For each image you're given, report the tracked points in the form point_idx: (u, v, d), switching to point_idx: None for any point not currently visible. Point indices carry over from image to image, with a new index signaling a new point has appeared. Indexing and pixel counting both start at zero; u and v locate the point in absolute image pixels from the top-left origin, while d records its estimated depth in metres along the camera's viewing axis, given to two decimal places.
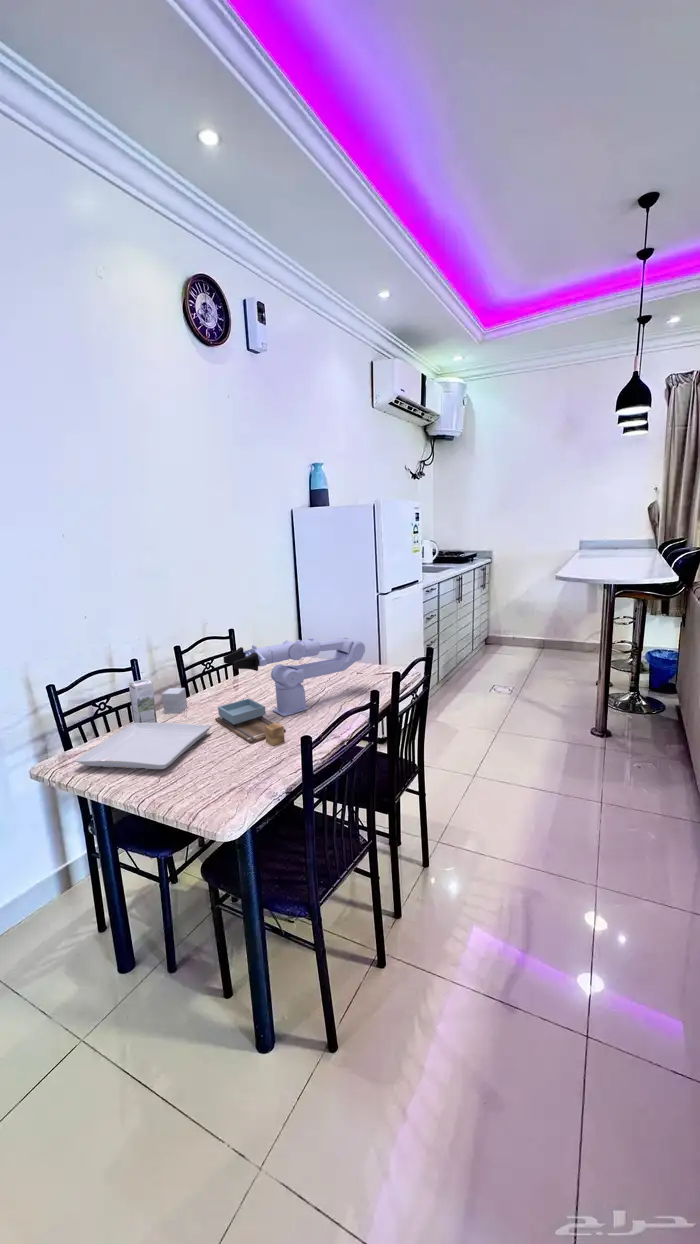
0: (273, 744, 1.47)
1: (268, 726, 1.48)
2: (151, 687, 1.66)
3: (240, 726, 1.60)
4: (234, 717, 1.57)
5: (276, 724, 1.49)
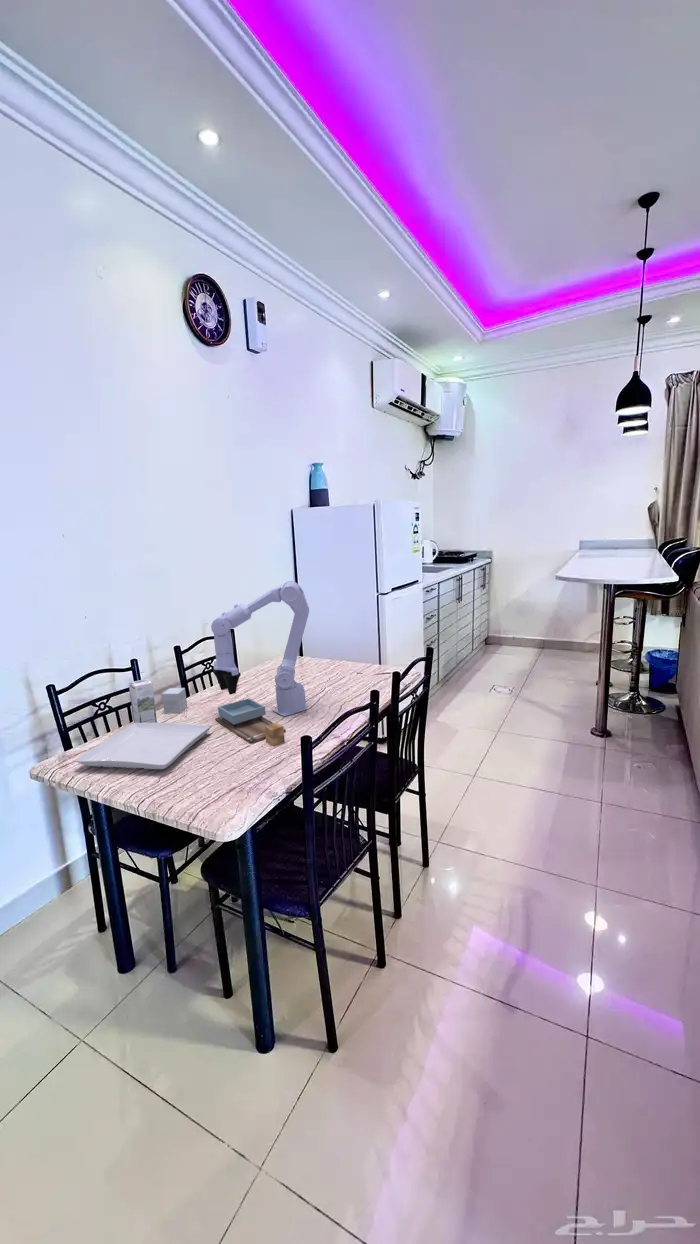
0: (273, 744, 1.47)
1: (268, 726, 1.48)
2: (151, 687, 1.66)
3: (240, 726, 1.60)
4: (234, 717, 1.57)
5: (276, 724, 1.50)
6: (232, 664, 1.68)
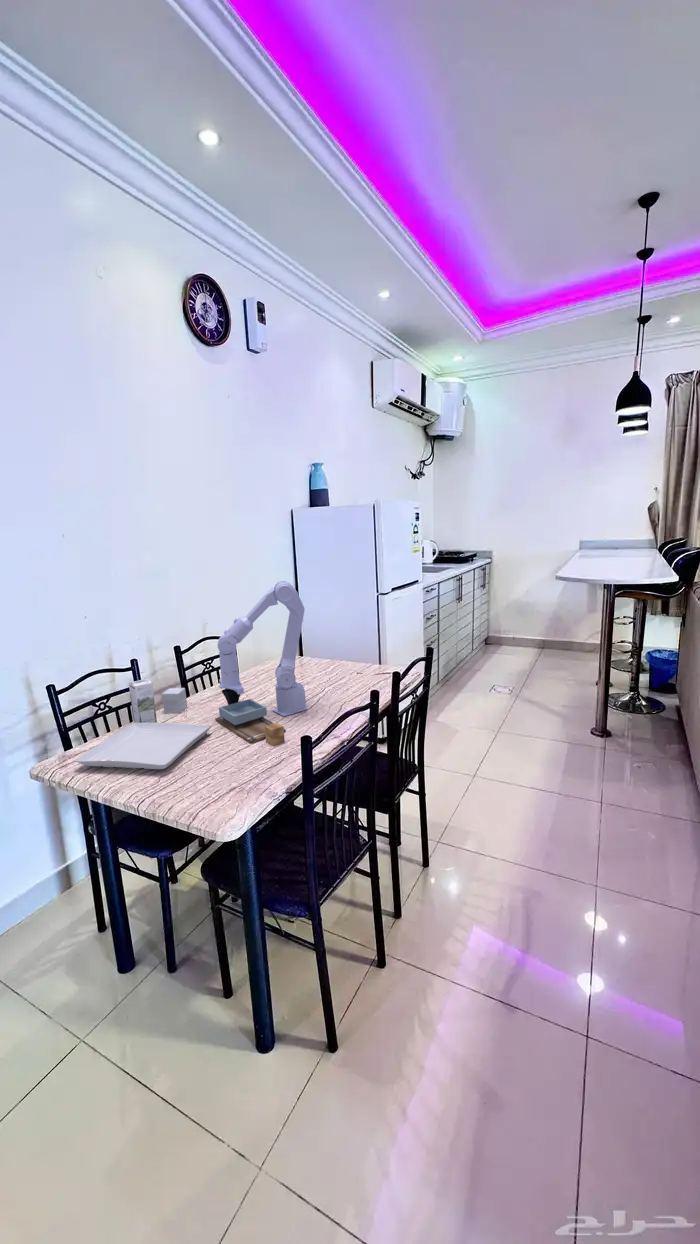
0: (273, 744, 1.47)
1: (268, 726, 1.48)
2: (151, 687, 1.66)
3: (240, 726, 1.60)
4: (235, 718, 1.57)
5: (276, 724, 1.49)
6: (237, 682, 1.67)
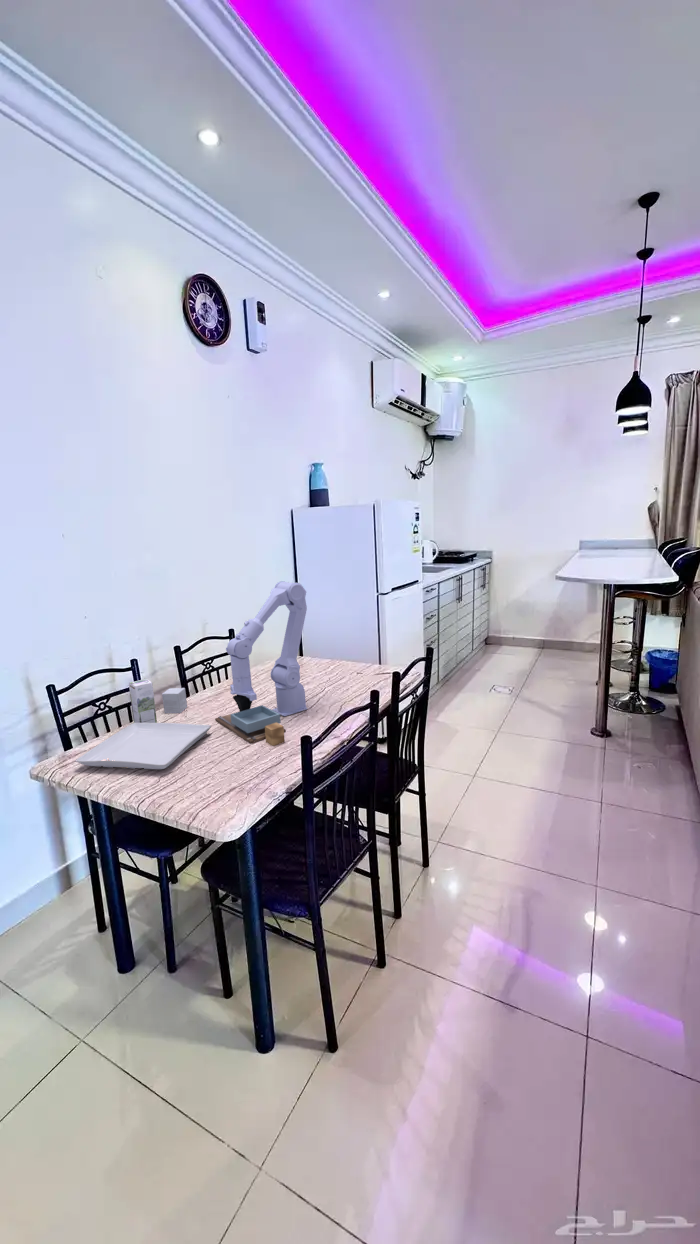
0: (273, 744, 1.47)
1: (268, 726, 1.48)
2: (151, 687, 1.66)
3: None
4: (248, 726, 1.50)
5: (276, 724, 1.50)
6: (250, 688, 1.60)
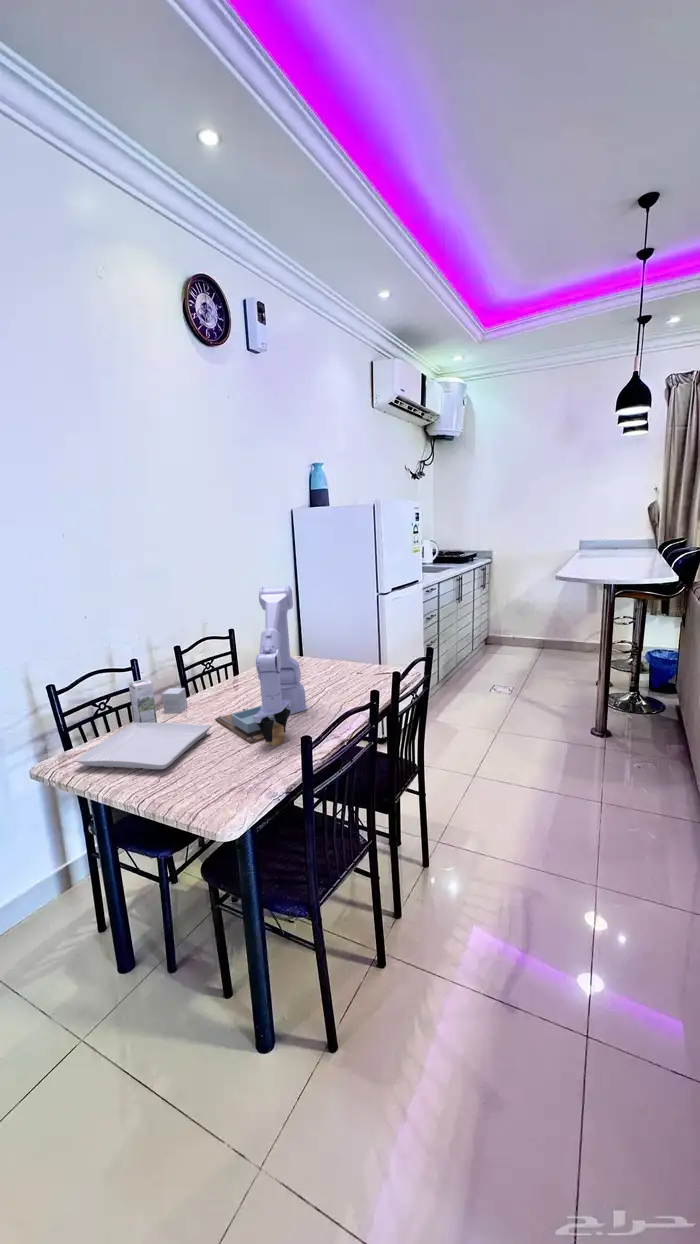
0: (273, 744, 1.47)
1: None
2: (151, 687, 1.66)
3: None
4: (248, 726, 1.50)
5: (276, 724, 1.49)
6: (270, 709, 1.44)
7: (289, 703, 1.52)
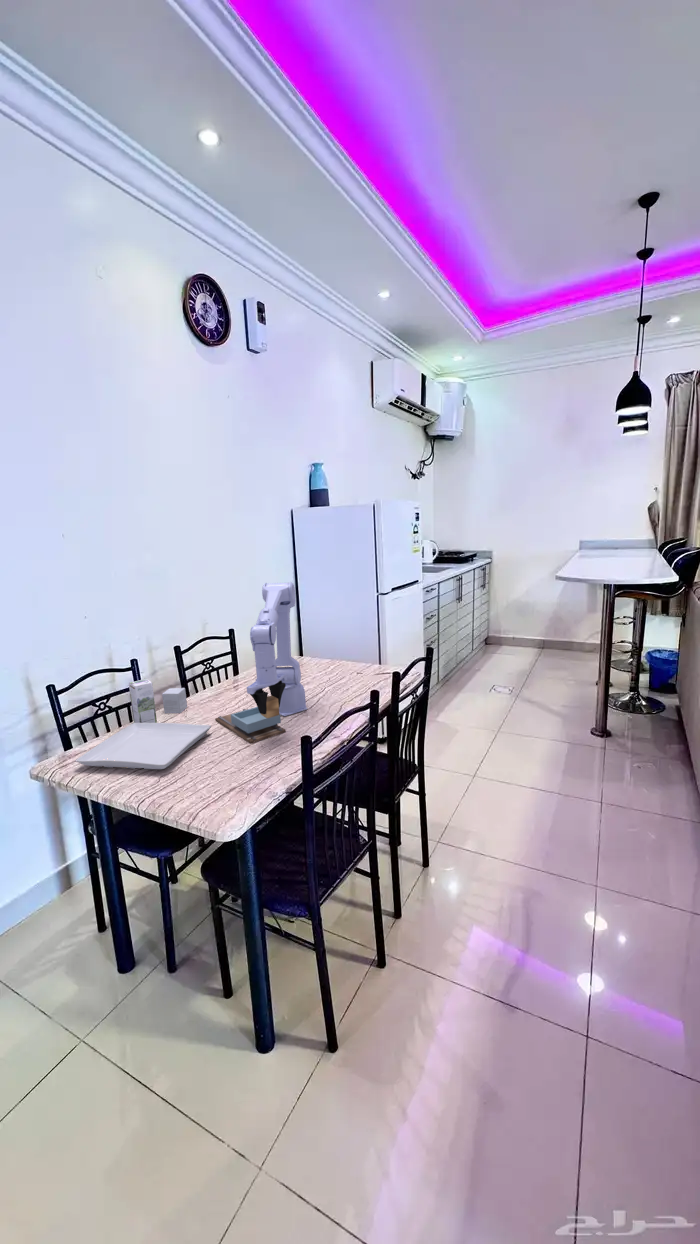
0: (267, 716, 1.47)
1: None
2: (151, 687, 1.66)
3: None
4: (248, 726, 1.50)
5: (271, 697, 1.49)
6: (264, 681, 1.44)
7: (284, 676, 1.52)
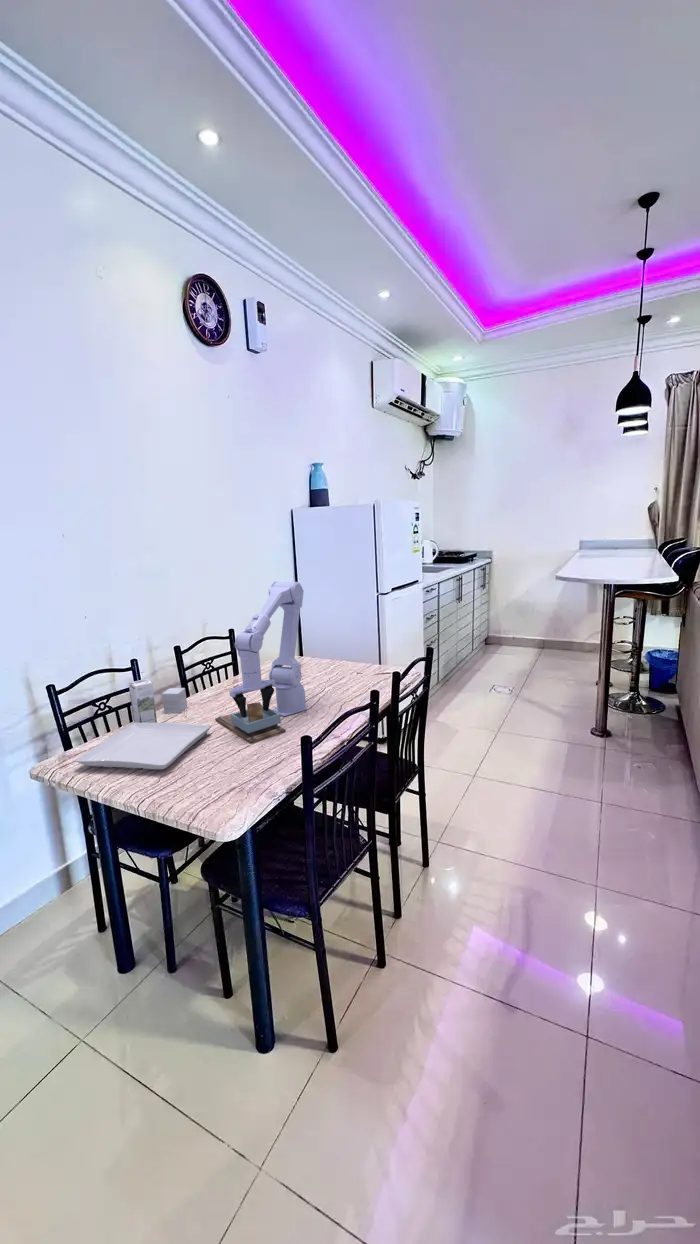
0: None
1: (249, 704, 1.57)
2: (151, 687, 1.66)
3: None
4: (248, 726, 1.50)
5: (257, 703, 1.58)
6: (247, 686, 1.53)
7: (272, 682, 1.58)
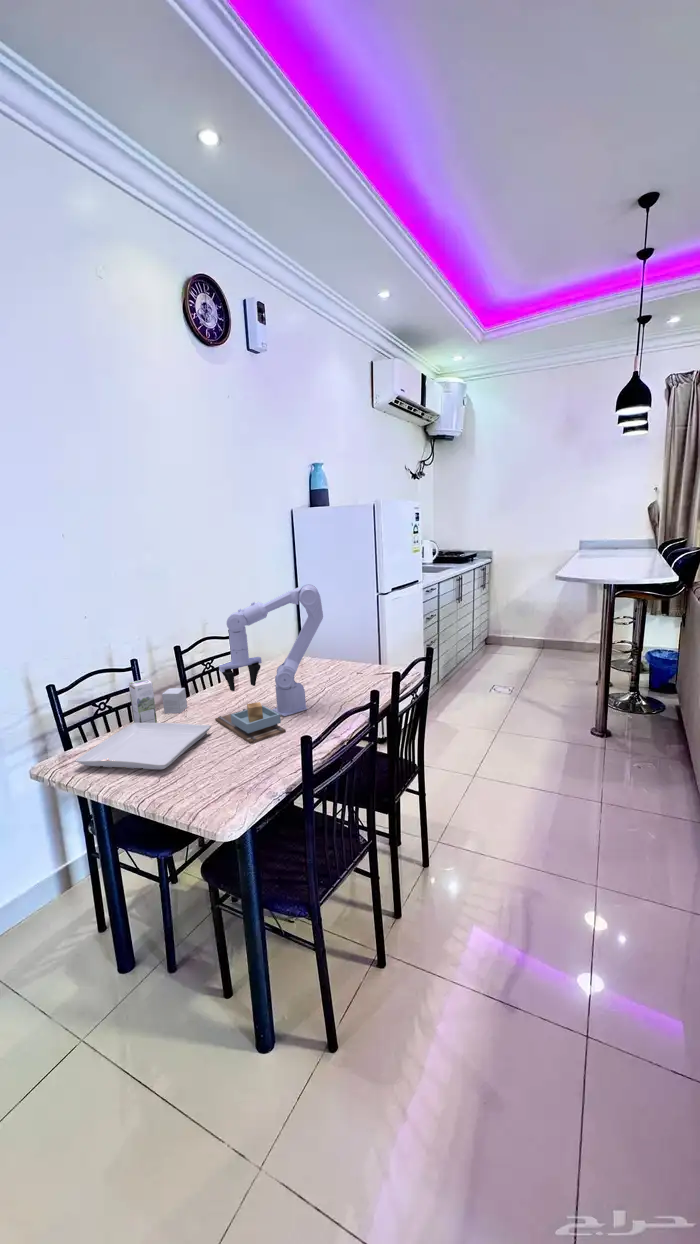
0: None
1: (249, 704, 1.57)
2: (151, 687, 1.66)
3: None
4: (248, 726, 1.50)
5: (257, 703, 1.58)
6: (235, 662, 1.66)
7: (258, 659, 1.72)
